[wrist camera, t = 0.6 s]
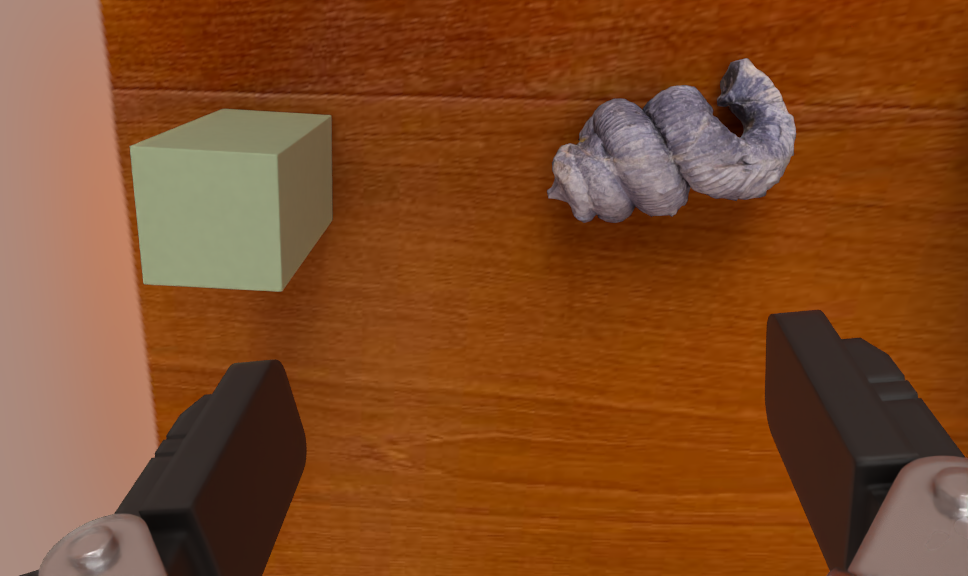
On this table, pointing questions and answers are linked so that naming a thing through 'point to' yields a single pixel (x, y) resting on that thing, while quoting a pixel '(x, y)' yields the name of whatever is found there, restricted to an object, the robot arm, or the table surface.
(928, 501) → the robot arm
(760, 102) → the seashell
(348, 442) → the table surface
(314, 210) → the block
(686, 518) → the table surface
